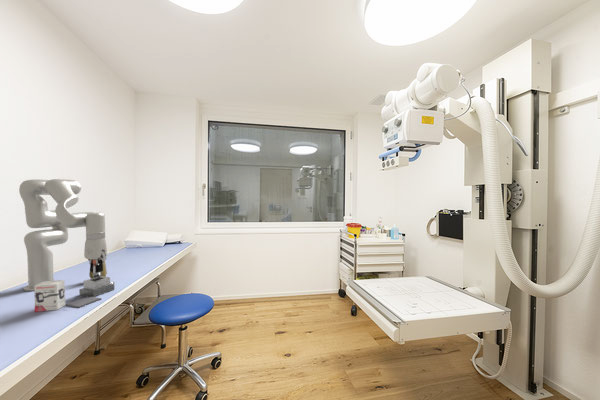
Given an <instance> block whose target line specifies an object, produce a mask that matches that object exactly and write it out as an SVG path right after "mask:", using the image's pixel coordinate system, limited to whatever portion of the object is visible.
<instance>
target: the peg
mask: <svg viewBox="0 0 600 400" xmlns="http://www.w3.org/2000/svg"><path fill="white" fill-rule="evenodd" d="M95 265H96V260H94V259H93V277H100V276H101V272H98V273H96V272H95Z"/></svg>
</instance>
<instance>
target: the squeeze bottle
mask: <svg viewBox="0 0 600 400" xmlns="http://www.w3.org/2000/svg"><path fill="white" fill-rule="evenodd" d="M100 258H101V257H100ZM100 260H101V259H100ZM90 265H91V264H89V266H90ZM88 274H89V277H90V278H89V279H92V278H95V277H93V272H90V271H89V273H88ZM107 274H108V272H107V266H106V260H105V261H104V263H103V271H101V276H104V277H107Z"/></svg>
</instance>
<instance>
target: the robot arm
mask: <svg viewBox="0 0 600 400" xmlns="http://www.w3.org/2000/svg"><path fill="white" fill-rule="evenodd" d="M81 190H82V186H81V184H80V183H79V182H78V180H77V181H76V180H75V179H64V178H63V179H60V178H53V179H35V178H34V179H27V180H23V181H22V182H21V183H20V184H19V191H18V192H19V196H20V198H21V199H22V202H23V204H24V214H25V223H26V224H27V226H28V228H30V229H42V228H44V229H42V230H35V231H31V232H28V233H26V234H25V235H24V237H23V242H24V246H25V249H26V255H27V276H28V277H27V286H25V287H23V291H26V292H32V291H34V286H35V285H37V284H39V283H42V282H45V281H55V280H54V277H55V276H54V254H53V252H52V250H50V249H49V248H48V247H51V246H57V245H58V246H59V245H63V244H65V243H67V241H68V239H69V229H76V228H85V241H84V242H85V243H84V250H83V251H84V253H83V254H84V258H85V260H86V259H87V261H88V262H89V273H90V272H93V259H94V260H96V265H95V272H96V273H98V272H101V271H103V263H104V261H105V262H106V261H107V256H108V255H107V254H108V252H107V251H108V249H107V243H106V242H107V241H106V218H105V214H104V212H92V211H87V212H83V211H82V212H70V211H69V210H68V208H69V209H70V208H71V207H73V206H74V205H76V204H77V203H78V202H79V196H77V195H78V194H80V193H81ZM42 196H50V197H51V198H52V199H53V200H54V201H55V202H56V203H57V205H56V207H55V210H53V209H52V210H49V208H48V202H47V201H46V200H45V199H44V198H43V197H42ZM45 228H51V229H45ZM100 257H101V258H100ZM100 259H101V260H100ZM90 264H91V265H90Z"/></svg>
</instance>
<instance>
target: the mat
mask: <svg viewBox="0 0 600 400" xmlns="http://www.w3.org/2000/svg"><path fill="white" fill-rule="evenodd" d="M101 300H102V297H98V296H96V297H91V296H88V297H87V296H84V297H82V298H80V299H76V300H73V301H72V302H68V303H65V306H66V307H67V306H68V307H73V308H77V309H78V308H79V309H81V308H84V307H86V306H87V305H91V304H93V303H96V302H98V301H101ZM85 305H86V306H85ZM80 307H81V308H80Z"/></svg>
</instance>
